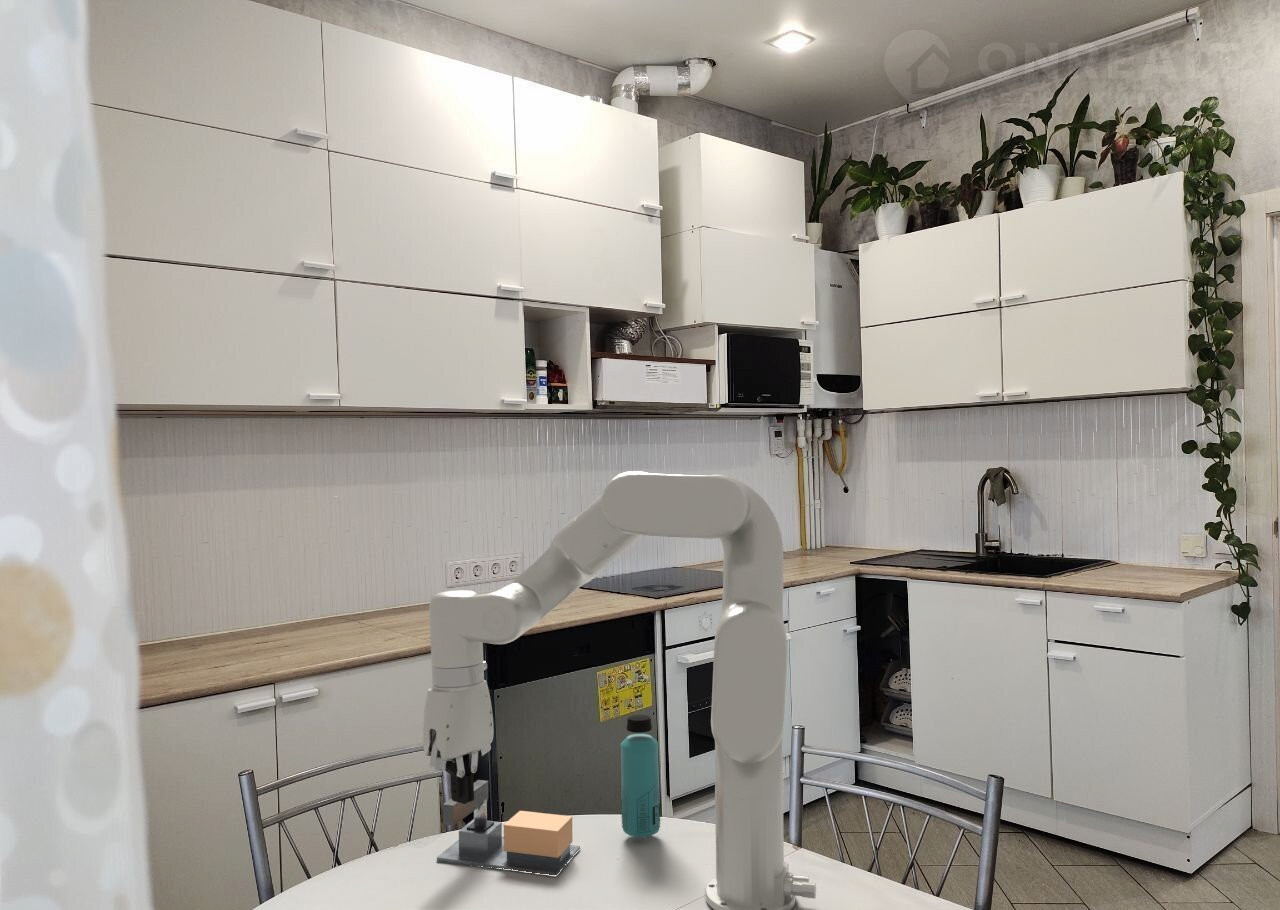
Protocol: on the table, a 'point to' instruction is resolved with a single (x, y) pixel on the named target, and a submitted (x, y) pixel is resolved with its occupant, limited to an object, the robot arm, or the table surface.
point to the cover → (538, 834)
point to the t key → (468, 807)
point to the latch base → (499, 852)
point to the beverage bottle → (640, 779)
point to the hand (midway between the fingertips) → (462, 800)
